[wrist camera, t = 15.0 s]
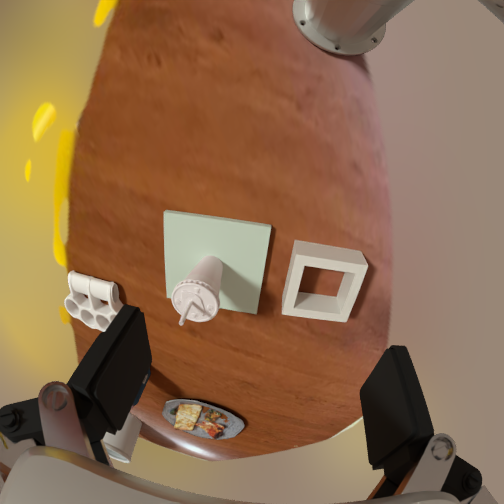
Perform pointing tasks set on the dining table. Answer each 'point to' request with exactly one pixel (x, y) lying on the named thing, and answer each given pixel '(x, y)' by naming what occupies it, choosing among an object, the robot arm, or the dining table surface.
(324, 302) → the drink caddy
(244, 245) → the serving mat
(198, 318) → the smoothie
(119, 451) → the utensil holder
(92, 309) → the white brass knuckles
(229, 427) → the food plate
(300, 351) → the dining table surface
